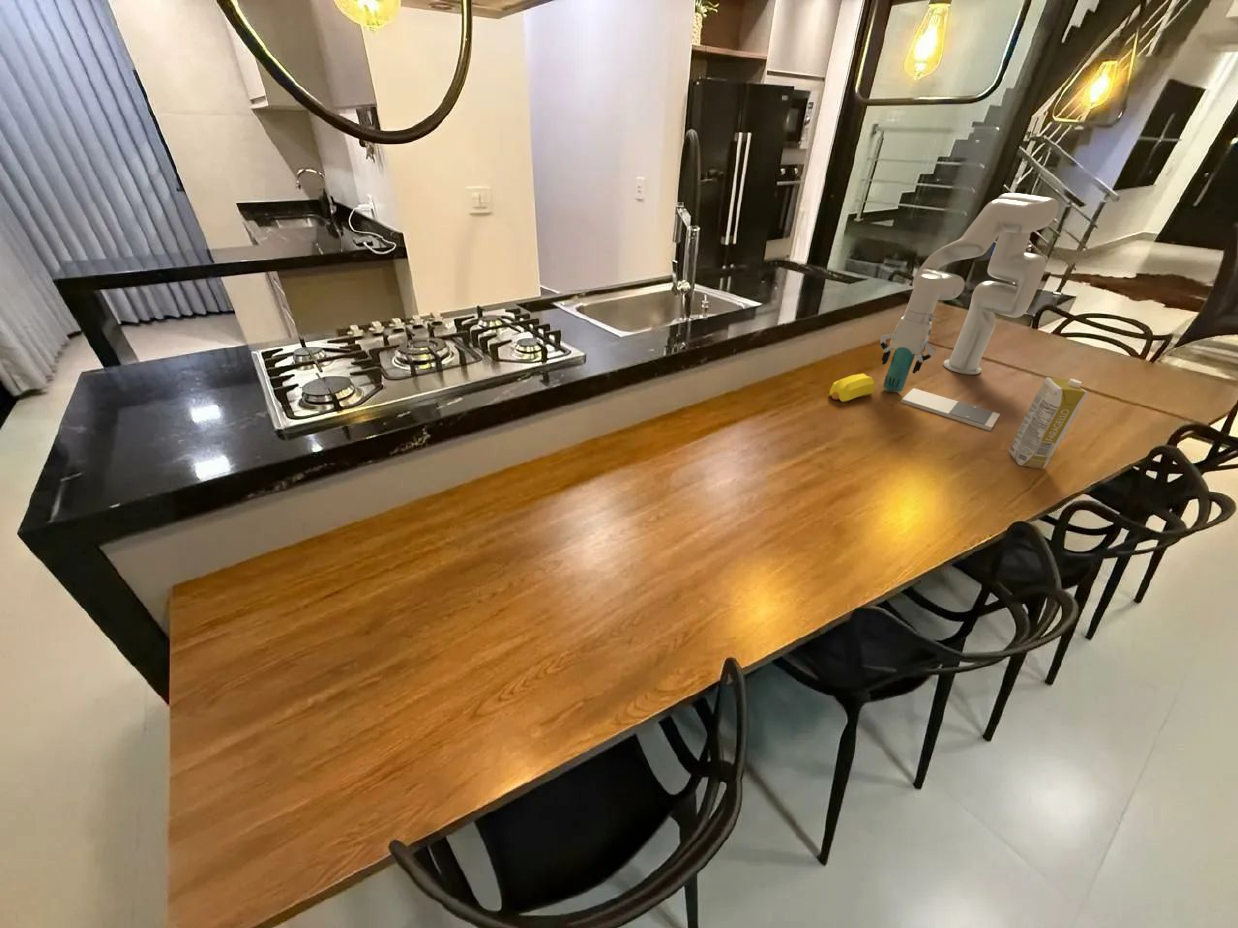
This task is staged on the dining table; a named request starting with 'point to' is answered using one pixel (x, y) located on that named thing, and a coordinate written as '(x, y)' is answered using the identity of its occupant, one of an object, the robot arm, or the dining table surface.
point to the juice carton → (1047, 421)
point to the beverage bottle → (898, 369)
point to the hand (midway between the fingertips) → (899, 367)
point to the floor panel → (951, 408)
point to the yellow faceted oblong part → (852, 387)
